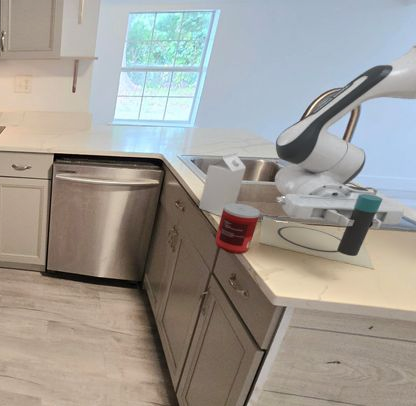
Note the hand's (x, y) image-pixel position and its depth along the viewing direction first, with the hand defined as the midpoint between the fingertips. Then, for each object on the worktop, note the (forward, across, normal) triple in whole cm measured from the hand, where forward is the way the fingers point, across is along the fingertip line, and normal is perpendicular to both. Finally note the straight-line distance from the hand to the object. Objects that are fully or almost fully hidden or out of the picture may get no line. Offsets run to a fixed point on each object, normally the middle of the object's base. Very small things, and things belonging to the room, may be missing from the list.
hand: (362, 224), depth 75 cm
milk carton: (-38, -12, +15) cm, 43 cm away
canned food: (-14, -16, +15) cm, 26 cm away
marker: (-1, 0, +7) cm, 7 cm away
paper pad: (-22, +6, +15) cm, 27 cm away
